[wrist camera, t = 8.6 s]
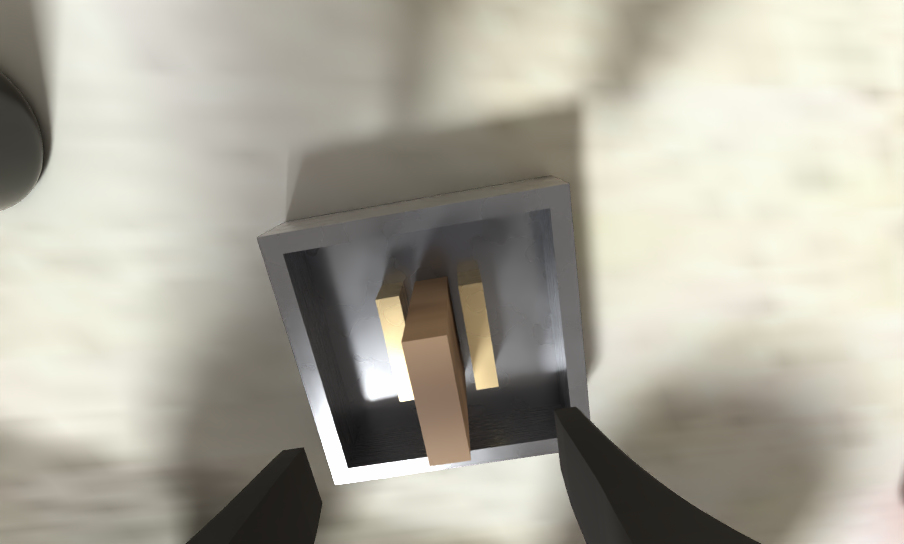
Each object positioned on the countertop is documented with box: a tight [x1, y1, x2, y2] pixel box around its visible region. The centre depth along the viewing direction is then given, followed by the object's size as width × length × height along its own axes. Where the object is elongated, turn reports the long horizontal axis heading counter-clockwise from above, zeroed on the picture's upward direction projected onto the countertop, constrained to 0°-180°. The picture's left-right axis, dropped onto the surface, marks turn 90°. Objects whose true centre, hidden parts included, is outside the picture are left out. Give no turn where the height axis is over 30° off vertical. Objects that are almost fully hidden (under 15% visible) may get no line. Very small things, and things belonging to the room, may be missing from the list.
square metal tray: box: [257, 176, 590, 485], centre depth 20 cm, size 12×12×3 cm
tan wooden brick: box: [401, 276, 471, 466], centre depth 18 cm, size 5×2×6 cm, turn 10°
